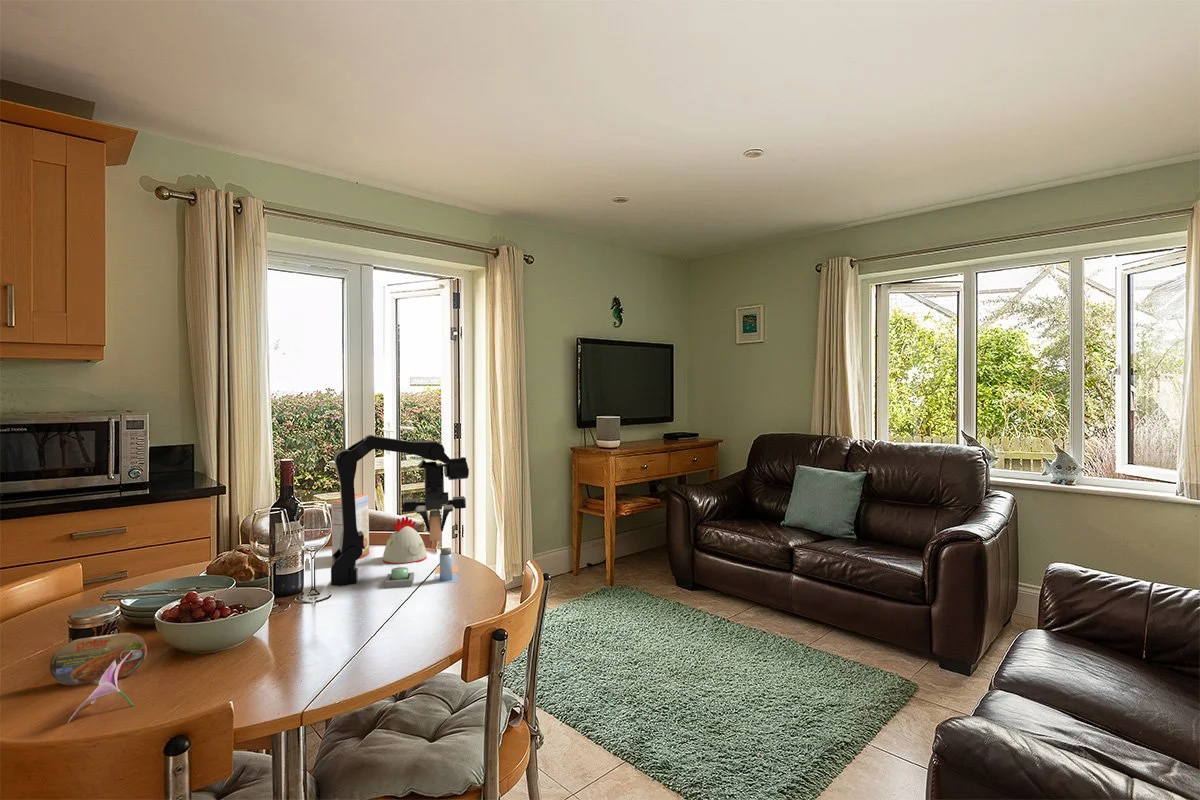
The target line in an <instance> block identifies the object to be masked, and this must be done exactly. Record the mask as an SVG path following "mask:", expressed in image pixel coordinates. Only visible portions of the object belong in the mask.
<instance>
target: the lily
mask: <svg viewBox="0 0 1200 800" xmlns="http://www.w3.org/2000/svg"><path fill="white" fill-rule="evenodd" d="M132 651H133V650H132ZM132 651H131V652H132ZM131 652H130V653H131ZM130 653H129V654H130ZM129 654H128V655H127V656H126V657H125V658H124V659H123V660H122V661H121V663H120V664H118V665H117V667H116V662H115V661H114V662H113V663H112V664H111V665H110V666H109V667H108V669H107V670H106V671H105V672H104V674H103V675H102V677H101V679H100V681H99V680H98V679H97V680H98V681H95V680H94V681H95V682H94V683H95V684H98V686H97V687H96V688H95V689H94V691H92V692H91V694H90V695H89V696H88V698H87V699H85V701H83V702H82V703H81V704H80V705H79V706H78V708H77V709H76V710H75V711H74V713H73V714H72V715H71V716H70V718H69V720H68V722H67V723H69V722H70V721H71V720H72V719H73V718H74V716H75V715H76V714H77V713H78V712H79V711H80V709H82V708H83V707H84V706H85V705H86V704H87V703H88V702H90V703H91V704H92V705H93V704H94V703H95V702H96V700H97V699H100V698H102V697H105V696H108V695H110V694H112V693H116V692H117V693H118V694H120V695H121V696H122V697H123V698H124V699H125V700H126V701H127V702H128V703H129V705H130V706H131V707H134V706H133V705H134V704H133V702H132V701H131V700H130V699H129V697H128V696H127V695H125V693H123V692H122V691H121V690H120V689H119V687H118V678H117V676H118V671H119V669H120V667H121V665H122V664H123V662H124V661H125V659H126V658H127V657H128V656H129Z"/></svg>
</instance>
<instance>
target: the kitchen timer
mask: <svg viewBox="0 0 1200 800" xmlns="http://www.w3.org/2000/svg"><path fill="white" fill-rule="evenodd" d="M396 521H397V522H396V523H393V526H394V529H395V531H394V532H393V533H391V536H389V538H388V540H386V546H385V548H384V551H383V555H382V561H383V563H385V564H388V565H390V564H391V565H393V564H394V565H403V564H404V565H405V564H407V565H409V564H414V563H421V562H423V561H425V560H426V559H427V555H428V554H427V549H426V547H425V542H424V540H423V539H422V536H421V535H420V534H419V532H418V531H417V530H416V529H415V526H416V521H413V519H412V518H410V519H409V516H405V517H401V519H400V518H397V520H396Z"/></svg>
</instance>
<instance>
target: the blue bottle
mask: <svg viewBox="0 0 1200 800" xmlns="http://www.w3.org/2000/svg"><path fill="white" fill-rule="evenodd" d="M452 566H453V553H452V548H451V547H442V548H441V549H440V553H439V567H440V573H439V576H440V581H450V580H452V576H453V573H452Z"/></svg>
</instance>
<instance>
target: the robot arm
mask: <svg viewBox="0 0 1200 800" xmlns="http://www.w3.org/2000/svg"><path fill="white" fill-rule="evenodd" d="M373 450H379V451H380V450H381V451H389V452H395V453H402V454H411V455H415V456H417V457H420V458H423V459H422V460H421V461H420V463H419V464H417V466H416V467H417V468H419V469H420V470H421V469H423V472H424V474H423V475H424V497H423V498H424V499H423V500H424V501H418V499H417V498H416V499H415V498H414V499H413V498H411V499H404V501H403V503H402V512H403V513H407V512H409V513H411V512H412V513H413V512H414V511H415V510H416V512H415V513H416V514H417V515H418V514H419V515H420V516H421V519H422V520H423V522H424V525H425V528H426V530H427V533H429V532H430V528H429V512H428V511H431V510H440V511H441V510H442V509H443V510H442V515H441V532H443V531H444V528H445V525H446V522H447V518H448V516H449V515H450V512H453V511H454V509H455V510H457V509H466V508H467V504H466V501H467V500H466V497H465V496H452V499H449V498H450V497H449V491H446V492H445V481H444V480H445V479H444V477H445V478H447V479H448V481H453V480H454V481H455V480H467V479H468V478H469V475H470V470H469V469H470V468H469V466H468V465H469V464H468V462H467V457H465V456H463V457H455V458H450V457H449V456H448V455H447V453H445V450H446V449H445V447H444V445H443V443H441V442H438V441H436V440H418V441H417V440H415V441H410V440H403V439H397V438H390V437H382V436H375V435H373V434H368V435H365V436H364V438H362V439H361V440H359V441H357V442H356V443H354V444H352V445H350V446H349V447H348V448H342V449H339V450H337V452H336V453H335V454H334V457H333V462H334V465H335V469H336V474H337V476H338V480H339V489H340V491H339V493H340V499H341V509H342V526H343V528H342V533H341V539H340V547H339V549H338V550H337V551H336V552H335V553H334V554H333V555H332V554H331V561H332V560H333V563H334V564H332V565H331V566H330V586H335V587H347V586H350V585H356V584H357V583H358V581H359V568H357V565H356V564H357V563H356V562H357V561H358V560H359V558H360V557H361V556H362V552H363V549H365V547H364V544H363V541H364V535H363V533H362V531H360V532H358V531H357V524H356V508H355V494H356V493H355V477H356V472H357V465H358V461H360V460H361V459H363V458H364V457H365V456H366V455H368V454H369V453H370V452H371V451H373ZM425 459H427V460H430V461H426V460H425ZM437 461H439V462H441V463H437ZM360 559H361V558H360Z"/></svg>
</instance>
